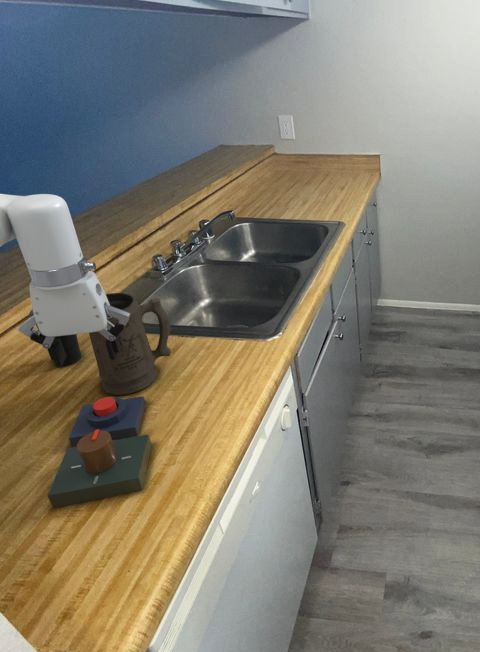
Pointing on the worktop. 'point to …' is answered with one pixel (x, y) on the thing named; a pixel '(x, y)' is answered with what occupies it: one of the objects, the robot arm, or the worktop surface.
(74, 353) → the drinking cup
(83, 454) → the knob
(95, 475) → the panel
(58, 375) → the worktop surface
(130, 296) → the beer stein
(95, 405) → the button
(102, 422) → the button box
